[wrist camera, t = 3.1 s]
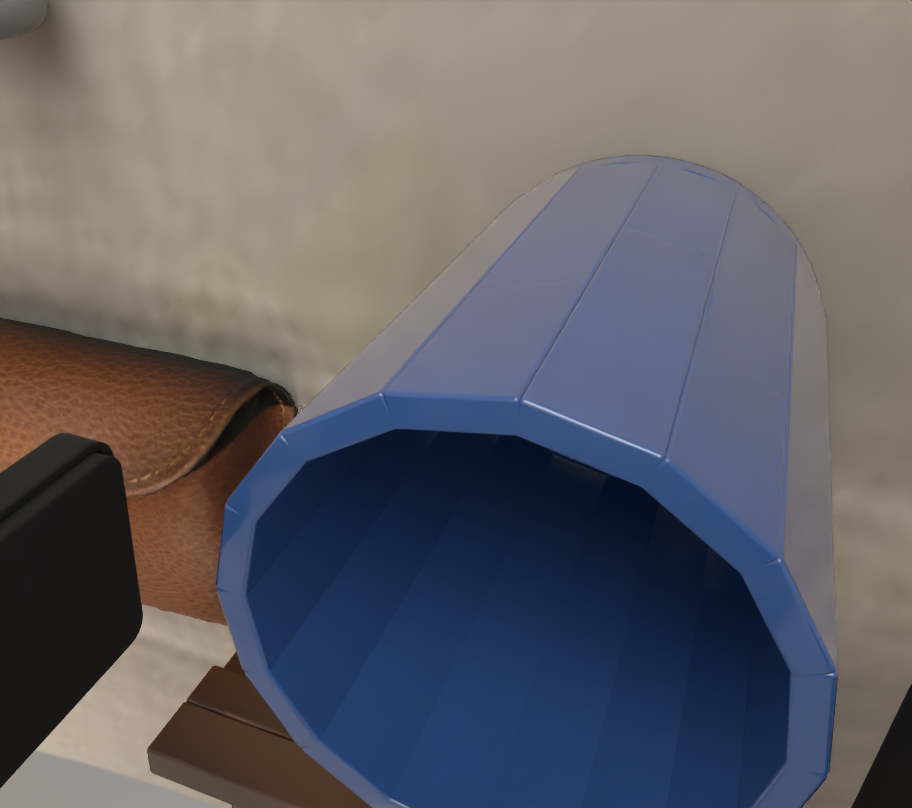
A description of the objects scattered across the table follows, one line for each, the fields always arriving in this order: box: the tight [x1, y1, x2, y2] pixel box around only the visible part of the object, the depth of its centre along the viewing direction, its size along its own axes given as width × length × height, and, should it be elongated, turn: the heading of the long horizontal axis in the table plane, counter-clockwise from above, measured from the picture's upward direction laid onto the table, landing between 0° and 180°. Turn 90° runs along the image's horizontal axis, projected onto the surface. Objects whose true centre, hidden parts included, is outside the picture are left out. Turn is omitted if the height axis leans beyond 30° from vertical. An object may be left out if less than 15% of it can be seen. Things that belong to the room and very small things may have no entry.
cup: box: [216, 156, 838, 808], centre depth 13 cm, size 7×7×9 cm
